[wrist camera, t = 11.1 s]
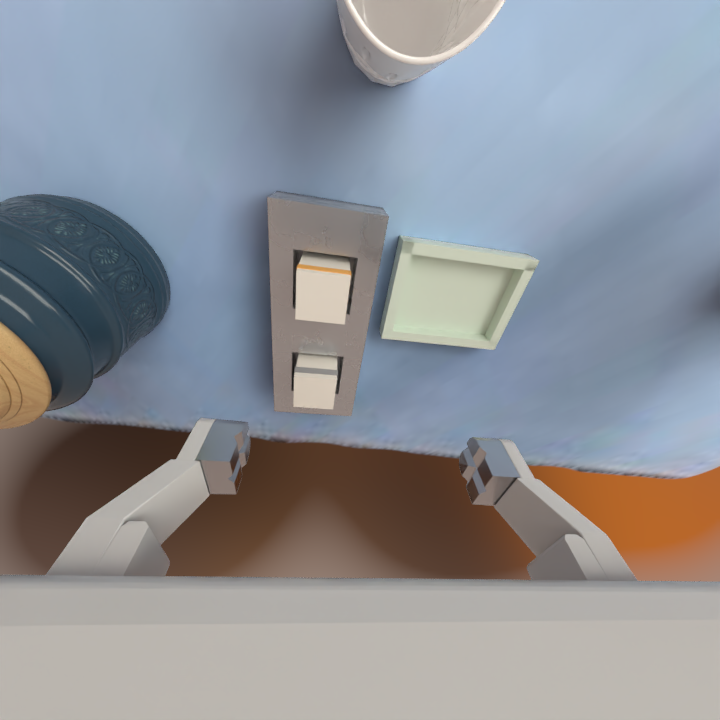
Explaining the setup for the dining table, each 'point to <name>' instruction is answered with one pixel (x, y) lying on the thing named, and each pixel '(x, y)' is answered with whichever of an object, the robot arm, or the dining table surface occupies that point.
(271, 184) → the dining table surface
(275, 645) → the robot arm
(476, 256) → the tray
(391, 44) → the white cup
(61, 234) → the canister
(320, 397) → the twin plug
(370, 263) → the strip
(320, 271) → the plug
